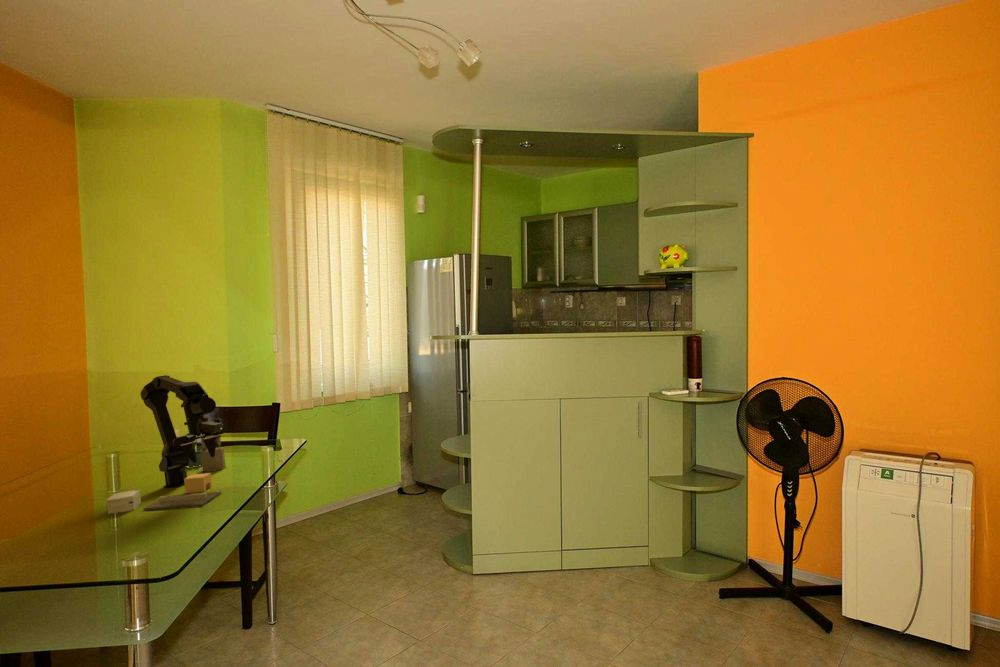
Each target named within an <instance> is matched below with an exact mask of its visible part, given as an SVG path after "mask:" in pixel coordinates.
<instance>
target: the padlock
mask: <svg viewBox="0 0 1000 667" xmlns="http://www.w3.org/2000/svg"><path fill="white" fill-rule="evenodd" d="M220 435H221V434H220ZM220 435H218V436H220ZM204 439H206V438H204V437H203V438H200V441H201V445H202V450H200V451H201V460H202V466H201V468H202V472H211V471H213V470H214V471H220V470H224V469H225V468H226V466H227V465H226V458H225V448H224V447H221V445H222V440H221V437H220V438H219V439H218V440H217V443H216V445H217V446H218V447H216V450H215V456H214V457H211V456H210V454H209V452H208V450H206V445H205V443H204V441H203V440H204ZM223 468H224V469H223ZM219 469H220V470H219Z"/></svg>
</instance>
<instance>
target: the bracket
mask: <svg viewBox="0 0 1000 667" xmlns="http://www.w3.org/2000/svg"><path fill="white" fill-rule="evenodd" d="M200 449H201V450H198V451H197V450H195V452H196V458H197V462H196V463H193V462H192V461H191V460H190V458H189V467H193V466H199V465H202V460H201V451H202V444H201V445H200ZM206 450H207V447H206Z"/></svg>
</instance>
